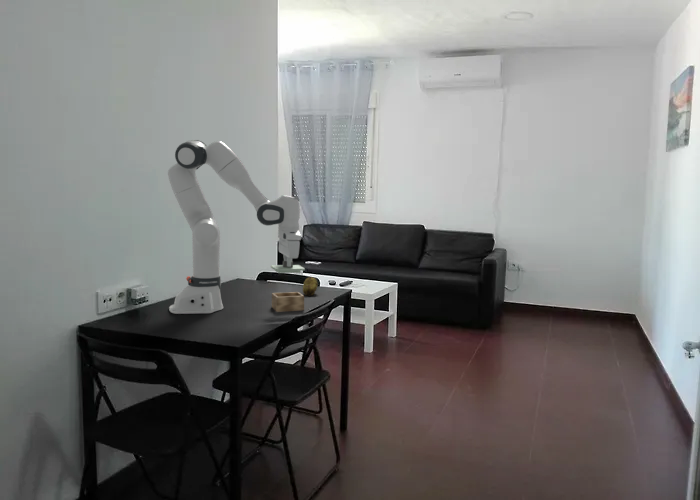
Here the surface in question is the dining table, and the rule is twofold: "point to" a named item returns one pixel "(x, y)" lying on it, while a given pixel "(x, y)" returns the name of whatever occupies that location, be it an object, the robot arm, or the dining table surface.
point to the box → (287, 301)
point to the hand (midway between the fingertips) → (287, 265)
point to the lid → (287, 268)
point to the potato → (310, 286)
